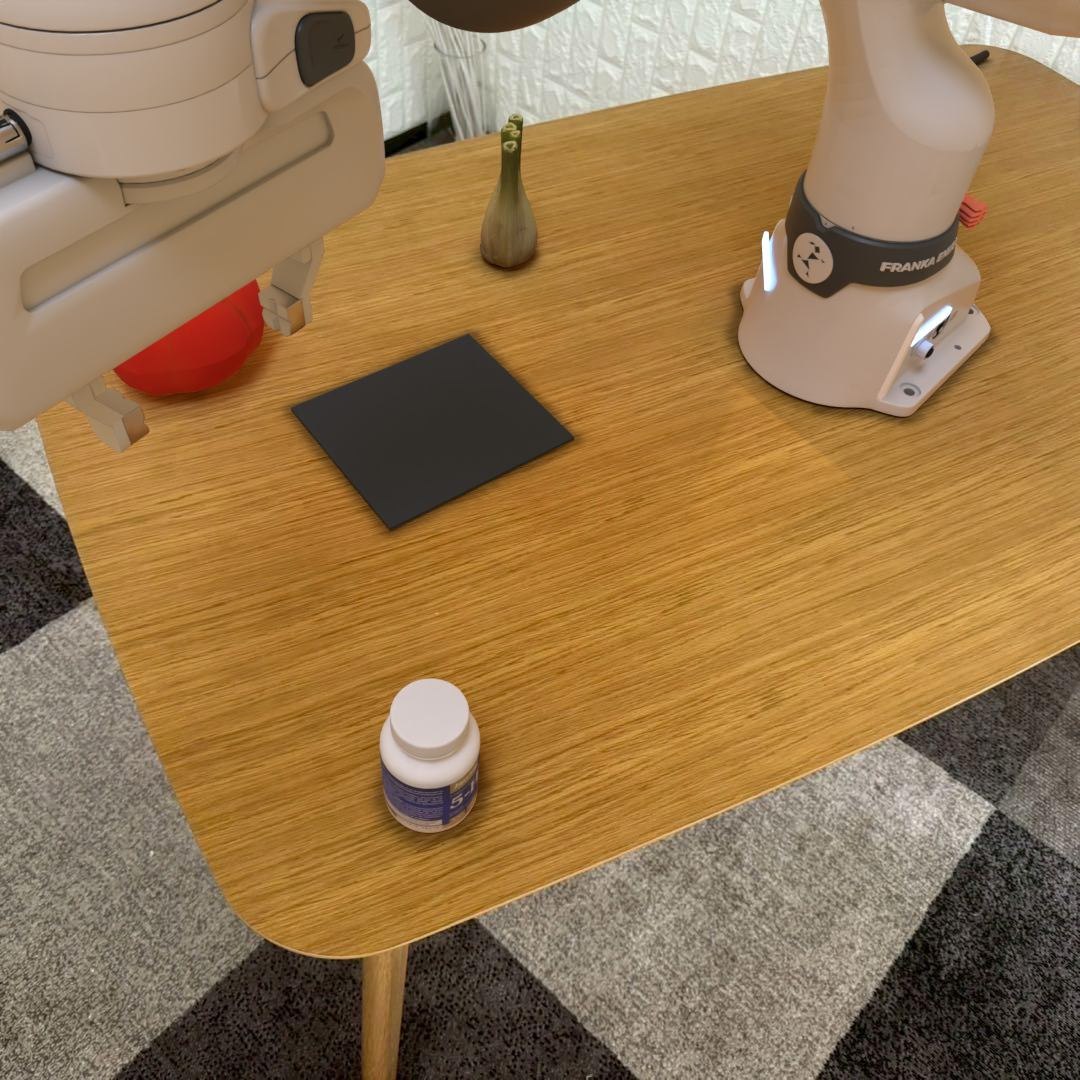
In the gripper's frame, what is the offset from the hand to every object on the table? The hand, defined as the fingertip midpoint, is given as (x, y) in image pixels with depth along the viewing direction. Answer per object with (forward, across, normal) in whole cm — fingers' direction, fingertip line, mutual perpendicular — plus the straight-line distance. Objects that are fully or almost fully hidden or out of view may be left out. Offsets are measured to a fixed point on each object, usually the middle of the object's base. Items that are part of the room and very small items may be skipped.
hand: (211, 378), depth 44 cm
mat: (+23, +22, +6) cm, 32 cm away
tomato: (+23, +15, +25) cm, 37 cm away
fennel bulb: (+23, +42, +15) cm, 50 cm away
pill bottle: (+23, -1, -12) cm, 26 cm away
